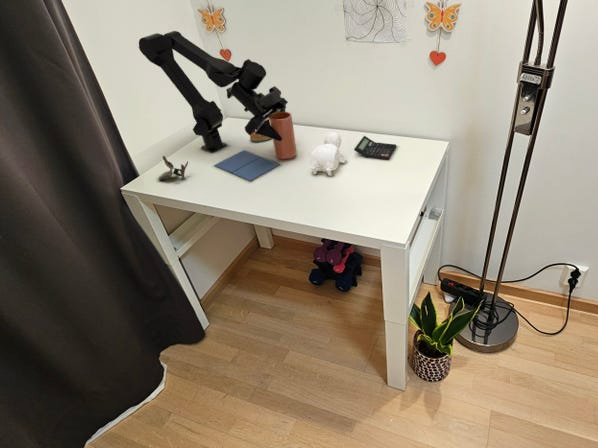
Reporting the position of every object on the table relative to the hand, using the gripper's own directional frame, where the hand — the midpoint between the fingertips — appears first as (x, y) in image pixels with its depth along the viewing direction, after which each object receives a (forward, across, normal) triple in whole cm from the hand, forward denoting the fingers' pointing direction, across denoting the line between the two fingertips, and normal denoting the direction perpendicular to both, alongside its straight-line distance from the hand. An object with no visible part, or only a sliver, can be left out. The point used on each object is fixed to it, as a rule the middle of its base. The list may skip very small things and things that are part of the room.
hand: (287, 135), depth 127 cm
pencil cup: (+4, 0, +6) cm, 7 cm away
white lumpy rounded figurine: (+16, -2, -5) cm, 17 cm away
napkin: (-3, -9, +14) cm, 16 cm away
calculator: (+24, +10, -13) cm, 29 cm away
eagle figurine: (-16, -21, +27) cm, 38 cm away
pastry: (-6, +11, +17) cm, 22 cm away
